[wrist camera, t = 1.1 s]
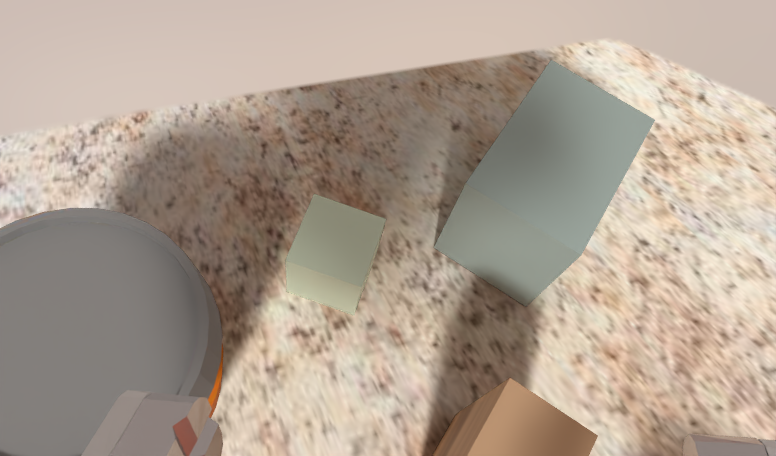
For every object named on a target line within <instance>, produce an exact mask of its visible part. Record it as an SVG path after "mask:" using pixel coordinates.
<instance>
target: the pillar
mask: <svg viewBox="0 0 776 456" xmlns="http://www.w3.org/2000/svg"><path fill="white" fill-rule="evenodd" d="M597 437H598V435H596V434H594V433H593V432H591V431H590V430H588V429H587V428H585V427H584V426H582V425H581V424H579V423H578V422H576V421H575V420H573V419H572V418H570V417H569V416H567V415H566V414H564V413H563V412H561V411H560V410H558V409H557V408H555V407H554V406H552V405H551V404H549V403H548V402H546V401H545V400H543V399H542V398H540V397H539V396H537V395H536V394H534V393H533V392H531V391H529V390H528V389H526V388H525V387H523V386H522V385H520V384H519V383H517V382H516V381H514V380H513V379H511V378H509V379H507V380H506V381H504V382H503V383H501V384H500V385H498V386H497V387H496V388H494V389H493V390H491V391H490V392H488V393H487V394H485V395H484V396H482V397H481V398H479V399H478V400H476V401H475V402H473V403H472V404H470V405H469V406H467V407H466V408H464V409H463V410H461V411H460V412H459V413H457V414H456V415H455V417H454V419H453V420H452V422H451V424H450V425H449V427H448V429H447V431H446V432H445V434H444V436H443V438H442V439H441V441H440V443H439V445H438V446H437V448H436V450H435V452H434V453H433V455H432V456H589V454H590V452H591V450H592V448H593V445H594V443H595V441H596V439H597Z"/></svg>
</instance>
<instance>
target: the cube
mask: <svg viewBox="0 0 776 456" xmlns="http://www.w3.org/2000/svg"><path fill="white" fill-rule="evenodd" d="M385 222H386V219H385V218H382V217H379V216H377V215H374V214H371V213H368V212H365V211H362V210H359V209H356V208H354V207H351V206H348V205H345V204H342V203H339V202H336V201H334V200H331V199H328V198H325V197H322V196H319V195H316V194H314V195H313V197H312V200H311V202H310V204H309V207H308V209H307V211H306V214H305V216H304V218H303V221H302V223H301V225H300V227H299V230H298V232H297V234H296V237H295V239H294V241H293V244H292V246H291V248H290V251H289V253H288V255H287V258H286V260H285V264H286V286H287V292H288V293H291V294H294V295H297V296H300V297H303V298H306V299H308V300H311V301H314V302H317V303H320V304H323V305H325V306H328V307H331V308H334V309H337V310H340V311H342V312H345V313H348V314H351V315H354V314H355V311H356V309H357V306H358V303H359V300H360V297H361V295H362V292H363V289H364V286H365V284H366V281H367V278H368V275H369V272H370V270H371V267H372V264H373V261H374V259H375V256H376V253H377V249H378V246H379V243H380V239H381V236H382V232H383V229H384V226H385Z"/></svg>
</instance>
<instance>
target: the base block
mask: <svg viewBox="0 0 776 456" xmlns="http://www.w3.org/2000/svg"><path fill="white" fill-rule="evenodd" d="M654 121H655V120H654V119H652V118H651V117H649V116H647V115H646V114H644V113H642V112H640V111H639V110H637V109H635V108H633V107H632V106H630V105H628V104H627V103H625V102H623V101H621V100H620V99H618V98H616V97H615V96H613V95H611V94H609V93H608V92H606V91H604V90H602V89H601V88H599V87H597V86H596V85H594V84H592V83H590V82H589V81H587V80H585V79H584V78H582V77H580V76H578V75H577V74H575V73H573V72H571V71H570V70H568V69H566V68H565V67H563V66H561V65H559V64H558V63H556V62H554V61H552V60H551V61H550V62H549V64H548V65H547V66H546V68H545V69H544V71H543V72H542V74H541V75H540V77H539V78H538V79H537V81H536V82H535V84H534V85H533V87H532V88H531V90H530V91H529V92H528V94H527V95H526V97H525V98H524V100H523V101H522V103H521V104H520V105H519V107H518V108H517V110H516V111H515V113H514V114H513V116H512V117H511V118H510V120H509V121H508V123H507V124H506V126H505V127H504V129H503V130H502V132H501V133H500V134H499V136H498V137H497V139H496V140H495V142H494V143H493V145H492V146H491V147H490V149H489V150H488V152H487V153H486V155H485V156H484V158H483V159H482V160H481V162H480V163H479V165H478V166H477V168H476V169H475V171H474V172H473V173H472V175H471V176H470V178H469V179H468V181H467V182H466V184H465V186H464V188H463V190H462V192H461V194H460V196H459V198H458V200H457V202H456V204H455V206H454V208H453V210H452V212H451V214H450V216H449V218H448V220H447V222H446V224H445V226H444V228H443V230H442V232H441V234H440V236H439V238H438V240H437V242H436V244H435V246H434V248H435V249H437V250H438V251H440V252H441V253H443V254H445V255H446V256H448V257H449V258H451V259H452V260H454V261H455V262H457V263H459V264H460V265H462V266H463V267H465V268H466V269H468V270H469V271H471V272H473V273H474V274H476V275H477V276H479V277H480V278H482V279H483V280H485V281H487V282H488V283H490V284H491V285H493V286H494V287H496V288H497V289H499V290H501V291H502V292H504V293H505V294H507V295H508V296H510V297H511V298H513V299H515V300H516V301H518V302H519V303H521V304H522V305H524V306H525V307H526V306H527V305H528V304H530V303H531V302H532V301H533V300H534V299H535V298H536V297H537V296H538V295H539V294H540V293H541V292H542V291H543V290H544V289H546V288H547V287H548V286H549V285H550V284H551V283H552V282H553V281H554V280H555V279H556V278H557V277H558V276H559V275H560V274H562V273H563V272H564V271H565V270H566V269H567V268H568V267H569V266H570V265H571V264H572V263H573V262H574V261H575V260H576V259H578V258H579V257H580V256H581V255H582V253H583V251H584V249H585V247H586V245H587V244H588V242H589V240H590V238H591V236H592V234H593V233H594V231H595V229H596V227H597V225H598V223H599V222H600V220H601V218H602V216H603V214H604V212H605V211H606V209H607V207H608V205H609V203H610V201H611V200H612V198H613V196H614V194H615V192H616V191H617V189H618V187H619V185H620V183H621V181H622V180H623V178H624V176H625V174H626V172H627V170H628V169H629V167H630V165H631V163H632V161H633V159H634V158H635V156H636V154H637V152H638V150H639V148H640V147H641V145H642V143H643V141H644V139H645V137H646V136H647V134H648V132H649V130H650V128H651V126H652V125H653V123H654Z"/></svg>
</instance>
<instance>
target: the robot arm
mask: <svg viewBox="0 0 776 456" xmlns="http://www.w3.org/2000/svg"><path fill="white" fill-rule="evenodd" d="M211 410H212V408H211V406H210V404H209V402H208V399H207V397H197V396H186V395H176V394H165V393H155V392H146V391H133V390H127V391H125V392H124V393H123V394H121V395H120V396H119V397H118V398H117V400H116V401H115V403H114V405H113V406H112V408H111V409H110V411H109V413H108V414H107V416H106V417H105V419H104V420H103V422H102V424H101V425H100V427H99V428H98V430H97V431H96V433H95V435H94V436H93V438H92V439H91V441H90V443H89V444H88V446H87V447H86V449H85V450H84V452H83V454H82V455H81V456H221V453H222V447H223V440H222V432H221V430H220V427H219V425H218V424H217V423H216V422H215V421H213V420H212V419H211V418H209V415H210V413H211ZM682 449H683V453H684V456H776V440H761V439H756V438H748V437H732V436H716V435H700V434H688V435H687V436H686V437H685V440H684V443H683V446H682Z"/></svg>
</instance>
